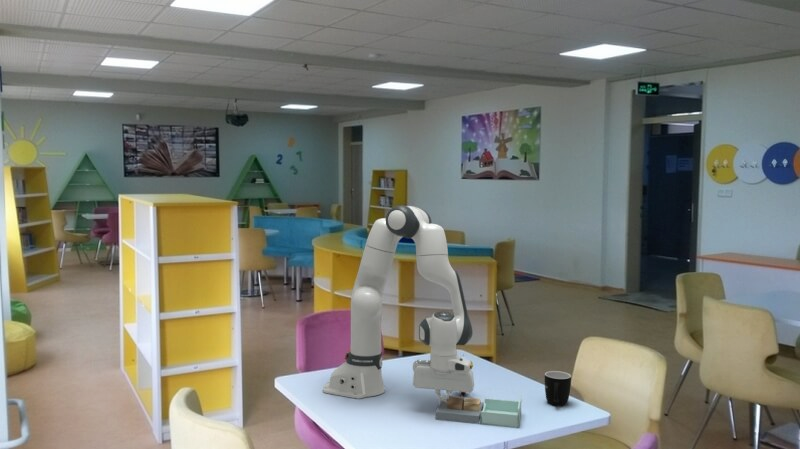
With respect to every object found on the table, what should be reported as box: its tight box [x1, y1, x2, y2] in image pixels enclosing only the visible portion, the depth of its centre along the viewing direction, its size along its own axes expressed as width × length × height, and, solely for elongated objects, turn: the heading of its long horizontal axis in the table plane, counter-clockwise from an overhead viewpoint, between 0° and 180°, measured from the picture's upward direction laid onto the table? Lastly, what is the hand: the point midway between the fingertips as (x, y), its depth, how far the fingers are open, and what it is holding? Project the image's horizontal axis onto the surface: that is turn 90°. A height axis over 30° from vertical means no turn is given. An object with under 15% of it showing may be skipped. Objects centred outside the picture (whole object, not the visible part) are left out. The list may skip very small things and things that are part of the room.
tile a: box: [464, 397, 482, 412], centre depth 212 cm, size 5×5×2 cm
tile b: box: [447, 395, 465, 410], centre depth 214 cm, size 5×5×2 cm
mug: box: [544, 370, 572, 407], centre depth 224 cm, size 12×9×10 cm
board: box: [435, 401, 485, 425], centre depth 214 cm, size 14×13×2 cm
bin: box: [479, 395, 522, 429], centre depth 210 cm, size 12×13×6 cm
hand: (443, 402), depth 215 cm, fingers closed
